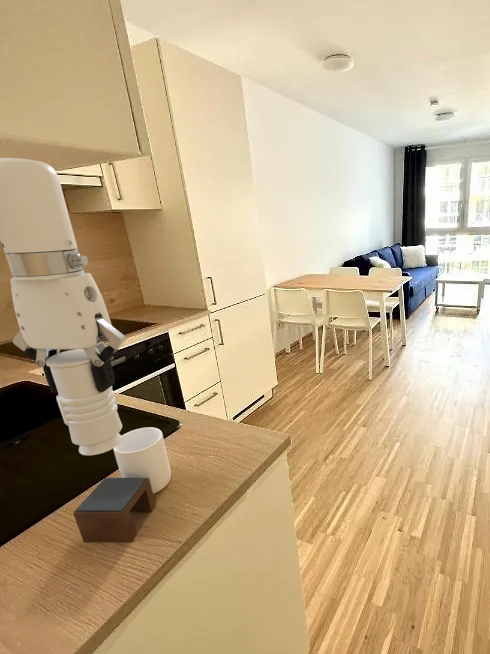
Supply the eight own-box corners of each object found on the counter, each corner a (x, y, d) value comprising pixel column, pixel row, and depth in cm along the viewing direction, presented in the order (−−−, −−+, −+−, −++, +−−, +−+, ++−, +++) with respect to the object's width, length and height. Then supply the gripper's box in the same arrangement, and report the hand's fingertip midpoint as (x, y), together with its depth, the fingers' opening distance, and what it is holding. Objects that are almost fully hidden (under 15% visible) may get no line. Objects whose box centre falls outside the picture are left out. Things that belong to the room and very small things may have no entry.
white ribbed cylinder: (68, 446, 56) (38, 357, 51) (115, 427, 61) (92, 344, 56) (83, 463, 52) (52, 369, 47) (132, 441, 57) (109, 353, 52)
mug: (142, 460, 78) (131, 419, 74) (182, 456, 79) (173, 415, 75) (118, 501, 67) (104, 454, 63) (164, 496, 68) (153, 450, 64)
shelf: (83, 542, 58) (72, 511, 56) (113, 505, 66) (104, 476, 64) (131, 542, 58) (122, 511, 56) (156, 505, 66) (148, 476, 63)
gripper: (128, 260, 50) (153, 377, 57) (8, 263, 51) (47, 378, 57) (92, 267, 43) (126, 399, 50) (-46, 270, 44) (5, 401, 50)
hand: (83, 387), depth 53 cm, fingers closed on white ribbed cylinder, 6 cm apart
